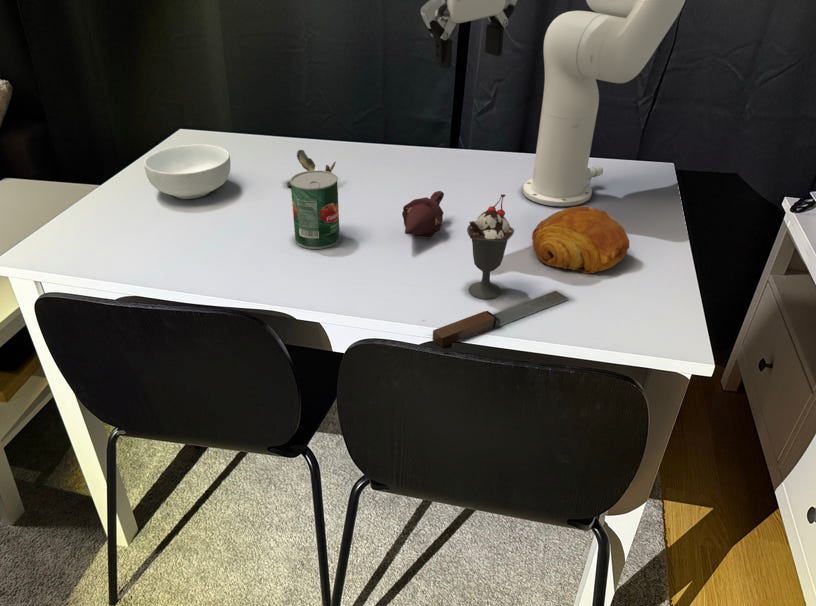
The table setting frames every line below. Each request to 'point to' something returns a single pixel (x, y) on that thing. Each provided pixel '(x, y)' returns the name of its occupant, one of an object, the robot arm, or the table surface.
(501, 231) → the sundae
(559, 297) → the knife
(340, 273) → the table surface
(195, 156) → the cereal bowl
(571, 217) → the croissant
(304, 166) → the eagle figurine
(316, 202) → the canned tomato
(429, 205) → the icecream
